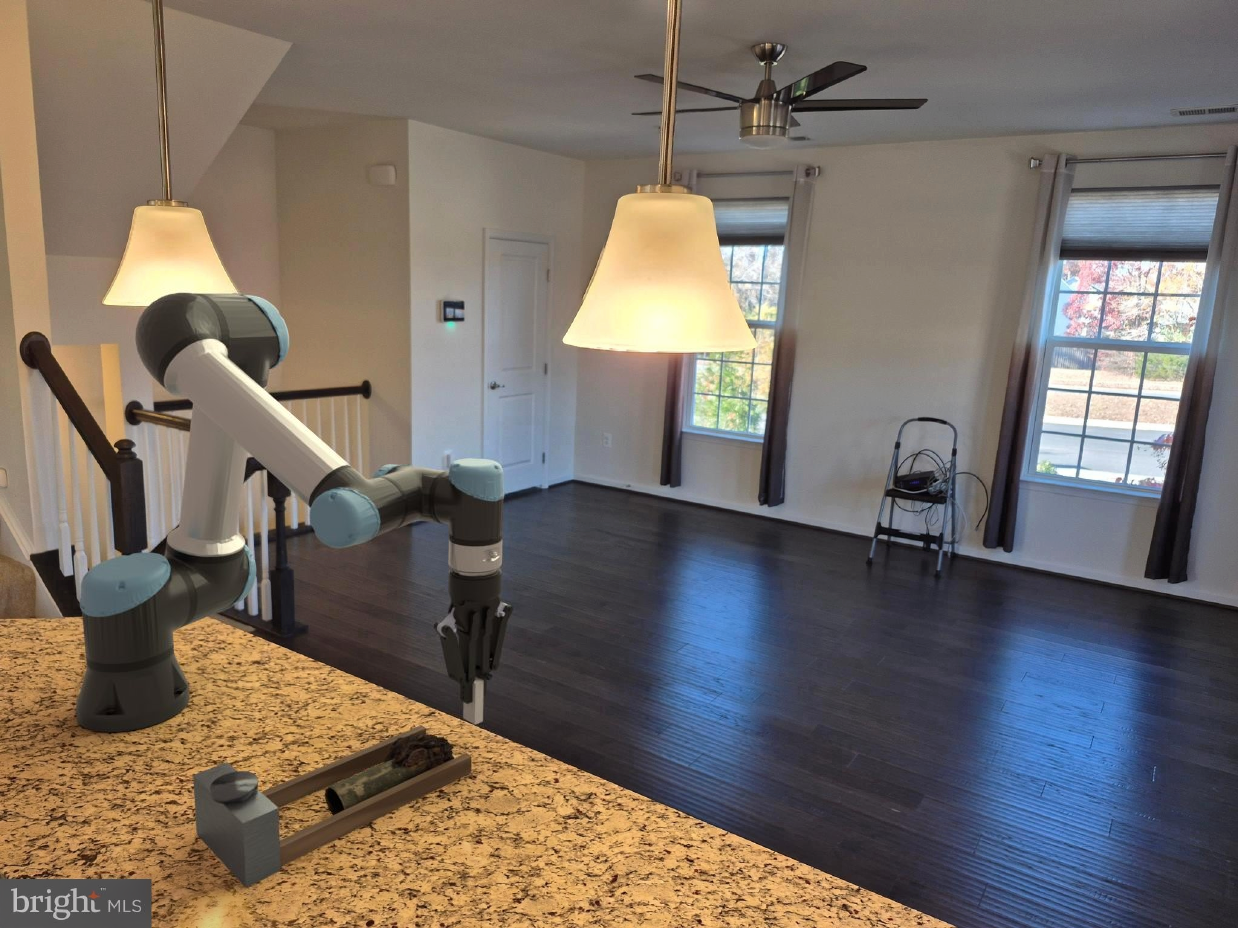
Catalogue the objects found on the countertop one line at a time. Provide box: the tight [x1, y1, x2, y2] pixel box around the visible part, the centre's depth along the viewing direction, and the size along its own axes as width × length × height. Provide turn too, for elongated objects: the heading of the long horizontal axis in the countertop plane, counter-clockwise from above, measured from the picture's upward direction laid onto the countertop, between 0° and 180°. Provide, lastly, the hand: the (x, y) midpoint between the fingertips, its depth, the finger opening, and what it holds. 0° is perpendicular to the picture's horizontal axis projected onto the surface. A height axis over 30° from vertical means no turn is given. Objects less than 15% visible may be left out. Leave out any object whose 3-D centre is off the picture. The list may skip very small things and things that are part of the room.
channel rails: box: [260, 724, 473, 867], centre depth 109 cm, size 12×28×2 cm, turn 139°
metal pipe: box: [324, 733, 455, 816], centre depth 111 cm, size 18×7×6 cm, turn 138°
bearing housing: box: [192, 761, 282, 889], centre depth 97 cm, size 13×5×9 cm, turn 49°
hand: (473, 719), depth 123 cm, fingers closed
